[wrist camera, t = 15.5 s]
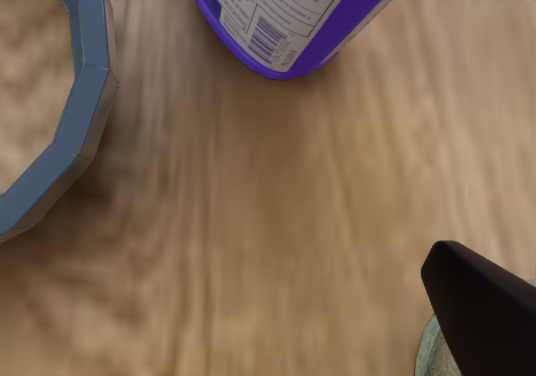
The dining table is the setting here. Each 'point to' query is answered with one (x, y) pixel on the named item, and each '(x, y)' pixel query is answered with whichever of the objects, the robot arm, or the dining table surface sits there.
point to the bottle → (287, 31)
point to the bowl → (69, 120)
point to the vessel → (437, 352)
